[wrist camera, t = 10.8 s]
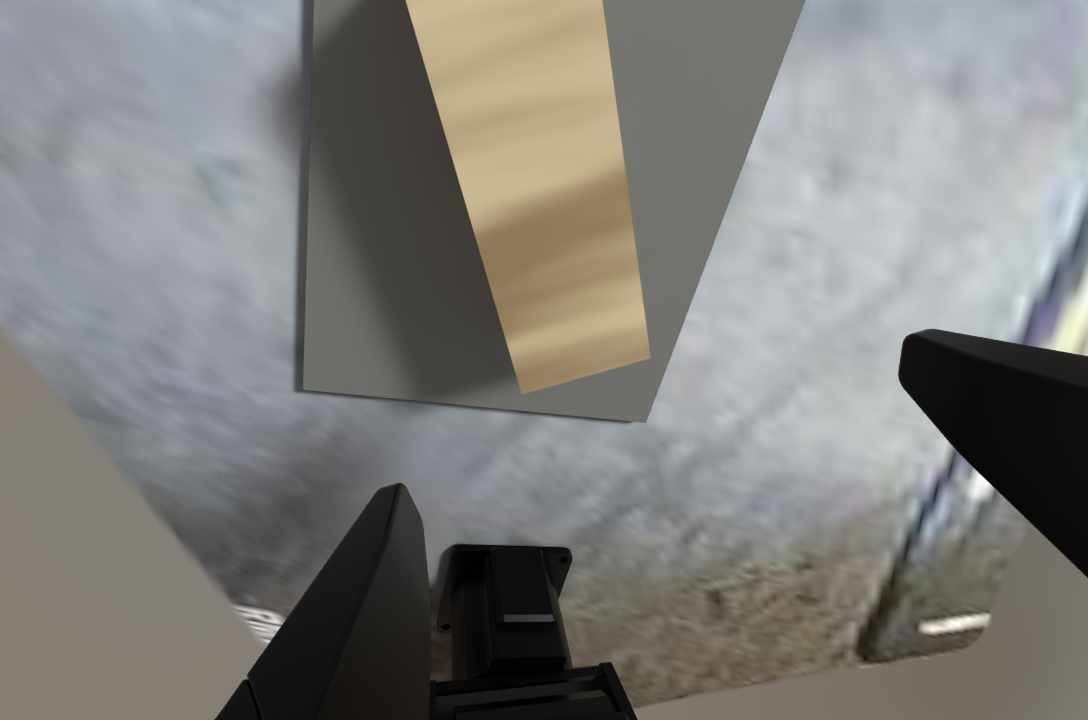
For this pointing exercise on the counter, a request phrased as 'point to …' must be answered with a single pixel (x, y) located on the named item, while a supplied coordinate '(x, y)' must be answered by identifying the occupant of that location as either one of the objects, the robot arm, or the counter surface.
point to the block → (541, 177)
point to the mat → (442, 217)
